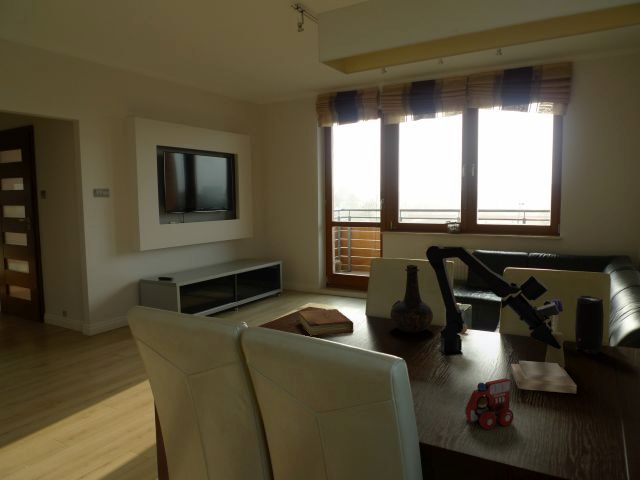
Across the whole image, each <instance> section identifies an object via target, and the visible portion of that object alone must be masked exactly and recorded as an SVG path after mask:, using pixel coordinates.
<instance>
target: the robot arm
mask: <svg viewBox="0 0 640 480" xmlns="http://www.w3.org/2000/svg"><path fill="white" fill-rule="evenodd" d="M425 256H426V258H427V261H428V262H429V265H430V266H431V268H432V269H433V271H434V273H435V276H436V280H437V283H438V286H439V291H440V292H441V293H440V294H441V297H442V300H443V303H444V307H445V322H446V323H445V325H444V326H443V327H442V329H441V330H440V332H439V333H440V347H438V350H439V351H440V352H441V353H443V354H444V355H445V356H448V355H450V356H451V355H462V354H463V351H462V350H463V347H462V345H463V343H462V341H463V340H462V338H461V335H460V333H461V331H462V330H463V328H464V327H465V325H467V321H468V317H467V316H466V313H465V312H466V311H465V308H460V307H458V303H457V300H456V296H455V293H454V289H453V286H452V282H451V279H450V276H449V272H448V268H447V259H454V258H457V259H459V261H461V262H463V264H464V265H466V266H467V267H468V268H469V269H471V271H472V272H474V273H475V274H476V275H477V276H479V277H480V278H481V279H482V280H483V281H484V283H485V284H486V285H487V287H488V288H489V289H490V290H491V292H492V293H493V294H494V295H495V296H496V297H498V298H502V299H500V300H501V301H500V302H501V303H500V304H501V307H500V308H501V309H504V308H505V307H509V308H510V310H512V311H513V313H515V315H516V316H517V317H519V318H518V319H519V321H521V322H523V323H524V324H526V326H527V327H528V330H529V331H530V332H529V333H530V335H529V336H530V338H531V340H533V341H534V342H542V343H543V344H546V345H547V346H548V345H550V346H552V347H555V348H557V349H560V348H561V346H560V344H559V343H558V342H557V340H556V339H555V337H554V336H553V335H552V333H551V332H554V331H553V329H552V327H553V326H552V320H551V316H552V317H553V315H557V314H558V315H559V314H560V312H559V310H558V308H557V306H556V304H555V303H554V302H552V301H550V300H549V299H547V300H545V301H543V305H541V306H539V307H537V306H536V305H534V304H531V303H530V302H529V301H537V300H538V299H539V298H541V297H542V296H543V295H545V293H547V292H548V291H549V288H548V287H547V285H546V284H545V283H543V282H542V280H539V279H538V278H537V277H536V276H534V275H533V274H532V275H530V276H529V277H528V278H527V279H526V280H525V281H524V282H522V283H516V282H511V281H510V280H509V279H507V277H504V276H502V275H500V274H499V273H496V272H494V271H493V270H491V268H489V267H488V266H487V265H486V264H485V263H483V262H482V261H481V260H480V259H478V257H476V256H475V255H474V254H473V253H471V252H470V251H469V250H468V249H467V247H465V246H464V245H458V246H457V245H455V246H453V245H451V246H450V245H449V246H448V245H447V246H443V245H441V244H439V243H437V244H434V245H431V246H429V247H428V248H427V249H426V250H425ZM504 298H505V299H504ZM551 302H552V303H551ZM547 320H548V321H547Z"/></svg>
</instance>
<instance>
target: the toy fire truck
mask: <svg viewBox="0 0 640 480" xmlns="http://www.w3.org/2000/svg"><path fill="white" fill-rule="evenodd" d="M476 386H477V389H473V391H472V392H471V395H470V397H469V400H468V402H467V404H466V407H465V410H464V412H465V416H466V419H467V420H468V421H469V422H471V423H474V422H479V426H481V427H482V428H483V429H485V430H491V429H493V428H494V427H495V425H496V424H497V423H496V422H498V423H499V424H500V425H501V426H504V427H507V426H510V425H511V424H512V423H513V421H514V417H515V415H514V413H513V411H512V410H511V409H510V402H511V401H510V400H511V399H510V398H511V395H510V394H511V390H512V380H511V379H509V378H507V377H505V378H499V379H494V380H491V381H486V382H485V383H484V382H479V383H477V385H476Z"/></svg>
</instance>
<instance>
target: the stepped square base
mask: <svg viewBox="0 0 640 480" xmlns="http://www.w3.org/2000/svg"><path fill="white" fill-rule="evenodd" d="M510 371H511V374H512V376H513V379H514V381H515V384H516V387H517V389H518V390H527V391H529V390H530V391H542V392H543V391H544V392H552V393H553V392H554V393H555V392H557V393H567V394H577V384H576V383H575V382H574V380H573V379H572V378H571V376H570V375H569V374H568V373H567V371H566V370H565V367H564V368H563V367H560V366H559V365H558V364H557V363H546V362H545V361H544V362H543V361H529V360H518V363H511V364H510Z"/></svg>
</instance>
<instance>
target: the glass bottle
mask: <svg viewBox="0 0 640 480" xmlns="http://www.w3.org/2000/svg"><path fill="white" fill-rule="evenodd" d="M418 267H419V266H418V265H415V264H407V265H406V268H404V271H406V283H405V284H406V285H405V293H404V297H403V300H397V301H396V302H395V303H393V305H392V306H391V310H390V313H389V316H390V320H391V322H392V324H393V325H394V326H395V328H397V329H398V330H399V331H401V332H404V333H410V334H411V333H412V334H414V333H415V334H417V333H421V332H424V331H425V330H427V329H428V328H429V327H430V326H431V324H432V323H433V318H434V313H433V311H432V308H431V306H429V305H428V304H427V303H425V302H424V301H423V300H422V298H421V295H420V294H421V293H420V289H419V288H420V287H419V279H418V277H419V275H418V272H420V270H421V269H418Z"/></svg>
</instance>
